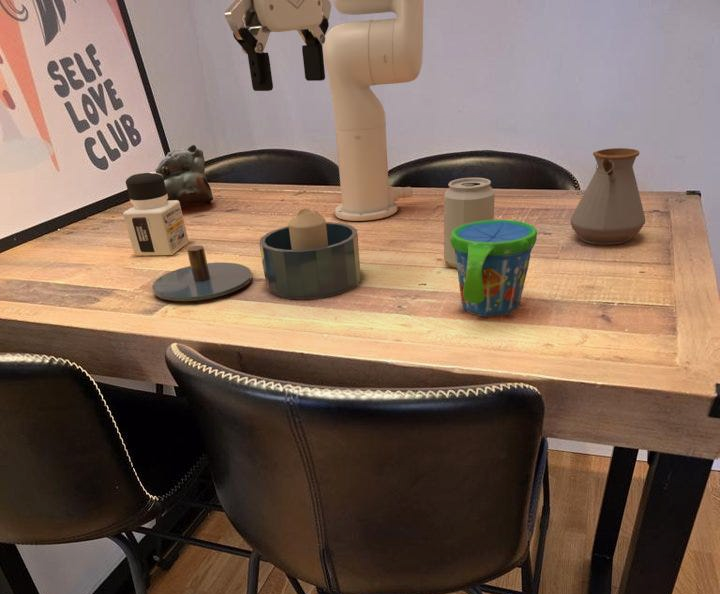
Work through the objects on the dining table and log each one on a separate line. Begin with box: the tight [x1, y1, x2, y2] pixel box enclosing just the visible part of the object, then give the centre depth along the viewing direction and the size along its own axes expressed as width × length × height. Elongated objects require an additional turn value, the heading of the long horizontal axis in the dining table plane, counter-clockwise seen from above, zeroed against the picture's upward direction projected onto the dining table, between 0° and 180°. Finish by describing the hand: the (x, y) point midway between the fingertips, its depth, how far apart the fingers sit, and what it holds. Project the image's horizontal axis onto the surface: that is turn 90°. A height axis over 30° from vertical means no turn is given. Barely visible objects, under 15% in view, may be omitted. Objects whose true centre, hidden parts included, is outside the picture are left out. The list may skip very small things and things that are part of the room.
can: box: [443, 177, 496, 269], centre depth 99 cm, size 8×8×12 cm
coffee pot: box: [570, 147, 646, 246], centre depth 99 cm, size 21×12×15 cm, turn 156°
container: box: [122, 171, 189, 257], centre depth 117 cm, size 8×8×13 cm
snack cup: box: [450, 219, 538, 318], centre depth 84 cm, size 16×10×10 cm
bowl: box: [258, 221, 362, 301], centre depth 98 cm, size 15×15×7 cm
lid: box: [151, 245, 253, 302], centre depth 101 cm, size 16×16×6 cm
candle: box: [287, 208, 328, 250], centre depth 97 cm, size 6×6×10 cm
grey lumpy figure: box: [155, 144, 214, 207], centre depth 144 cm, size 15×12×14 cm
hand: (290, 85), depth 85 cm, fingers open, 9 cm apart
